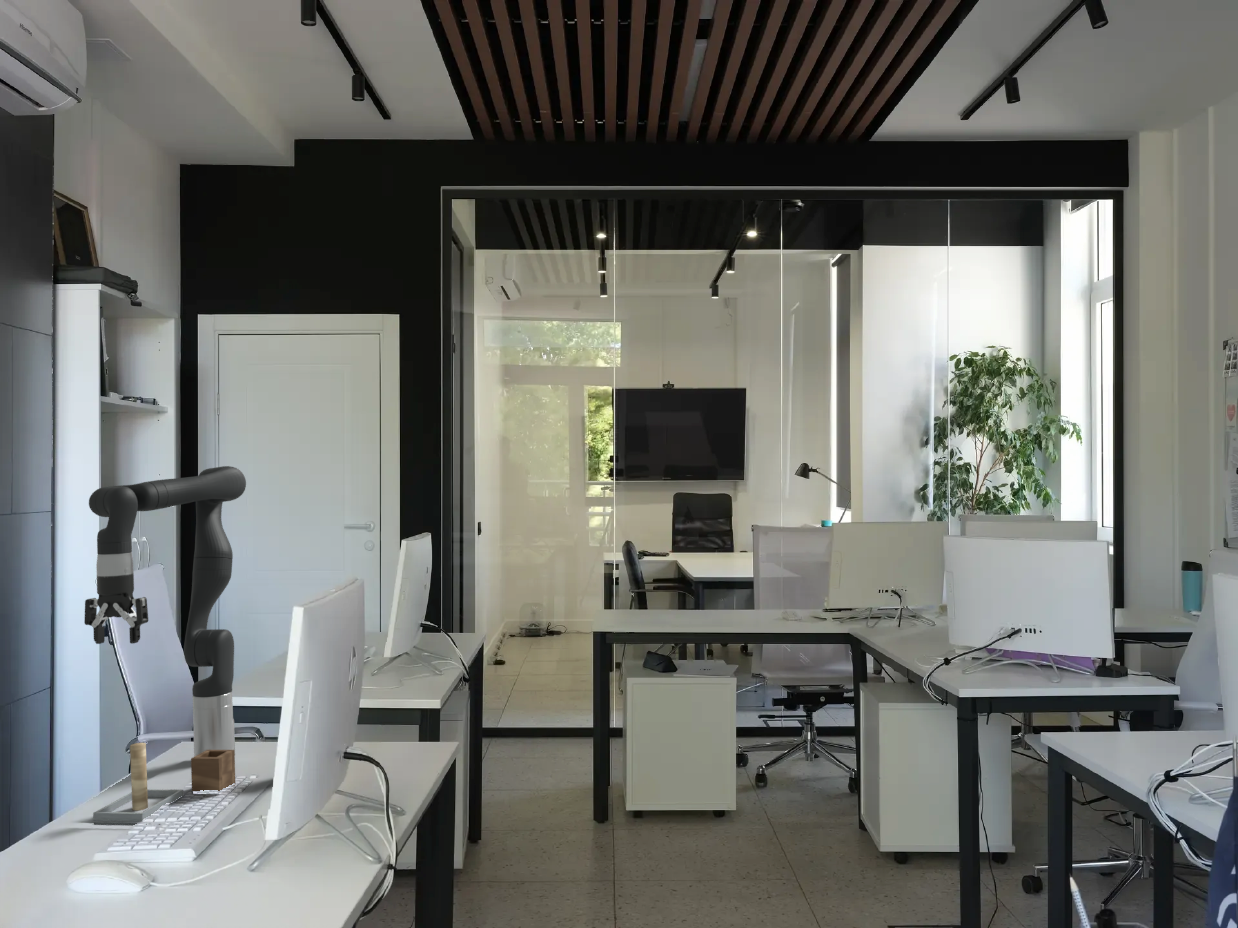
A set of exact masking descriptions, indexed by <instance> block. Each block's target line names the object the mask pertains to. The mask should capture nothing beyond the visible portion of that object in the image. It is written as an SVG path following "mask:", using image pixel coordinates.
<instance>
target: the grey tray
mask: <svg viewBox="0 0 1238 928" xmlns="http://www.w3.org/2000/svg"><path fill="white" fill-rule="evenodd" d="M147 792H148V798H164V799H162V800H160V801H159V802H157V803H156V804H154V805H152V806H150V807H148V808H146V809H144V810H142V812H135V811H134V812H126V811H124V812H123V811H121V812H120V811H119V812H117V811H116V810H117V809H119V808H121V807H123V806H125V805H126V804H129V803H130V802H132V791H131V792H129V793H127V794H126V795H123V796H122V797H120V798H118V799H116V800H113V802H112V801H111V803H109V804H106V805H105V806H103V807H102V808H100V809H97V810H96V811H94V812H93V814H92V815H93V818H92V820H93V826H129V827H130V826H132V827H133V825H135V824H137V823H138V822H143V821H142V820H143V819H144V818H146V817H148V816H150V817H152V816H151V814H153V813H154V812H155V811H157V810H158V809H159V808H160V807H161V806H162V805H165V804H166V803H171V802H173V801H175V800H176V799H178V798H179V797H181V796H183V797H184V789H175V788H174V789H168V788H167V789H164V788H162V789H161V788H160V789H157V788H152V789H151V788H147ZM175 802H176V801H175ZM94 821H95V822H94ZM97 821H103V822H97ZM104 821H105V822H104ZM108 821H109V822H108ZM110 821H111V822H110ZM112 821H113V822H112ZM116 821H117V822H116Z"/></svg>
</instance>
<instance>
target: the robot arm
mask: <svg viewBox="0 0 1238 928" xmlns="http://www.w3.org/2000/svg"><path fill="white" fill-rule="evenodd" d="M246 485H247V480H246V477H245V475H244V473H243V472H242V471H241V470H240V469H239V468H237V467H234V466H230V465H228V466H227V465H226V466H225V465H224V466H218V467H216V466H215V467H210V468H206V469H203V470H202V471H200V473H199V474H198V475H196V476H188V477H175V478H165V479H164V478H163V479H156V480H150V481H144V482H139V483H134V484H124V485H123V484H122V485H110V486H109V485H108V486H103V487H100V488H97V489H96V490H95V491H93V492H92V493H91V495H90V496H89V499H88V506H89V509H90V510H91V512H92V513H93V514H94V515H97V516H98V517H102V518H103V517H104V518H108V520H107V525H106V527H104V528H102V529H100V530H99V531H98V532H97V536H96V546H97V547H96V550H97V552H96V554H97V557H96V567H95V569H96V593H97V594H98V598H96V597H92V598H87V599H85V601H84V625H86V626H91V627H92V629H93V641H94V642H95V644H96V645H102V644H104V643H105V641H106V640H105V626H104V624H105V623H106V622H107V620H108V619H110V618H122V619H123V620H124V621H126V622H127V624H128V626H129V643H130V644H133V645H134V644H137V643H138V642H139V641H140V640H141V626H142V625H144V624H146V623H148V622H149V611H148V599H147V597H145V596H143V597H138V598H135V597H134V590H135V581H134V580H135V577H134V576H135V575H134V569H135V568H134V559H133V558H134V557H133V553H132V552H133V547H132V546H133V545H132V543H133V542H132V534H133V529H134V527H135V522H136V518H137V514H138V512H150V511H151V512H152V511H155V510H156V511H157V510H163V509H167V508H170V507H171V508H173V507H176V506H180V505H184V504H190V503H193V502H195V516H196V517H195V519H196V521H195V523H196V524H195V539H194V540H195V541H194V542H195V543H194V554H193V565H192V582H191V585H192V586H191V596H190V604H189V605H190V607H189V612H188V620H187V624H186V631H185V637H184V645H183V655H184V656H183V657H184V661H185V663H186V665H188V666H190V667H193V668H197V667H198V668H199V667H203V668H205V667H206V668H207V667H212V672H211V674H210V675H209V676H208V677H206V678H203V679H200V680H198V681H196V682H194V683H193V685H192V692H191V693H192V714H193V715H192V716H193V718H192V720H193V721H192V722H193V723H192V725H193V727H192V728H193V755H194V756H193V757H195V756H197V755H198V754H200V753H202V752H204V751H206V750H235V751H236V745H235V744H236V742H235V738H236V737H235V734H236V733H235V719H234V710H233V709H234V707H233V705H234V704H233V681H234V674H235V673H234V669H235V668H234V667H235V666H234V665H235V663H234V661H235V641H234V636H233V633H232V632H231V631H230V630H228V629H223V628H221V629H220V628H219V629H216V628H215V629H208V622H209V618H210V613H211V611H212V609H213V607H214V605H215V604H216V602H217V601H218V599H219V598H220V597H221V595H222V594H223V593H224V591H225V590H226V588H227V586H228V585H229V583H230V580H231V578H232V574H233V573H232V572H233V557H234V556H233V555H234V554H233V548H232V546H231V543H230V541H229V538H228V537H227V534H226V532H225V529H224V527H223V522H222V511H223V510H222V508H223V503H224V502H231V501H235V500H237V499H238V498H240V497H241V496H243V494H244V493H245V491H246V487H247V486H246ZM98 607H99V609H100V610H99V611H98V612H97V610H98ZM134 608H135V610H134Z"/></svg>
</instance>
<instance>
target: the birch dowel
mask: <svg viewBox="0 0 1238 928" xmlns="http://www.w3.org/2000/svg"><path fill="white" fill-rule="evenodd" d="M129 753H130V755H129V756H130V781H131V783H130V785H131V786H130V787H131V792H132V801H131V805H132V806H131V808H132V811H134V812H135V811H145V810H147V809H148V808H149V799H148V798H149V797H148V792H147V789H148V774H147V773H148V772H147V771H148V770H147V769H148V768H147V767H148V766H147V743H146V742H137V743H132V744H130V745H129Z"/></svg>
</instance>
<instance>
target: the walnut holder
mask: <svg viewBox="0 0 1238 928" xmlns="http://www.w3.org/2000/svg"><path fill="white" fill-rule="evenodd" d="M235 759H236V749H235V750H206V751H204V752H202V753H200V754H198V755H197V756H195V757H194V756H193V757H191V759H190V770H191V771H190V772H191V773H190V775H191V792H192V791H200V790H203V791H204V790H218V791H220V790H222V789H223V788H226V787H228V786H229V785H232V784H233V783H235V784H236V760H235Z"/></svg>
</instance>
